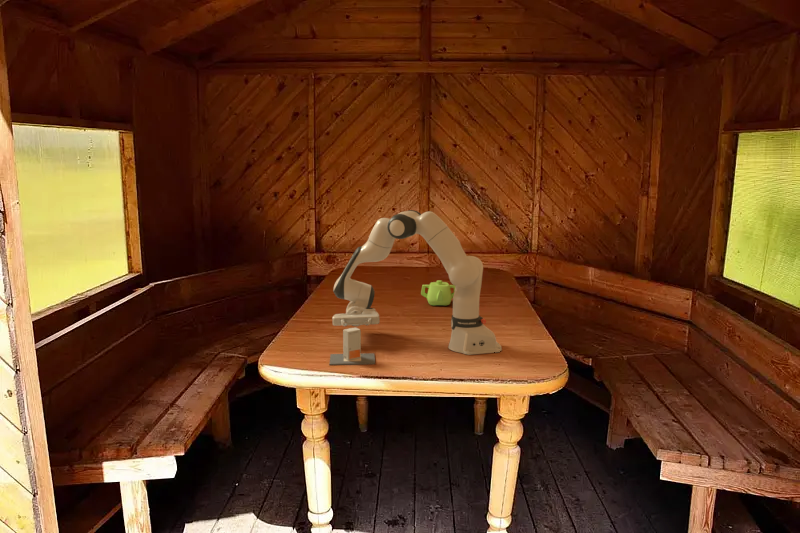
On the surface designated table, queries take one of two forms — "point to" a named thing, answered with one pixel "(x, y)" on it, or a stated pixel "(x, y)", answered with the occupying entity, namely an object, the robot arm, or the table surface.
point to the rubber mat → (365, 359)
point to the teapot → (438, 293)
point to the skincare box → (351, 343)
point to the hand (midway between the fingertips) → (356, 324)
